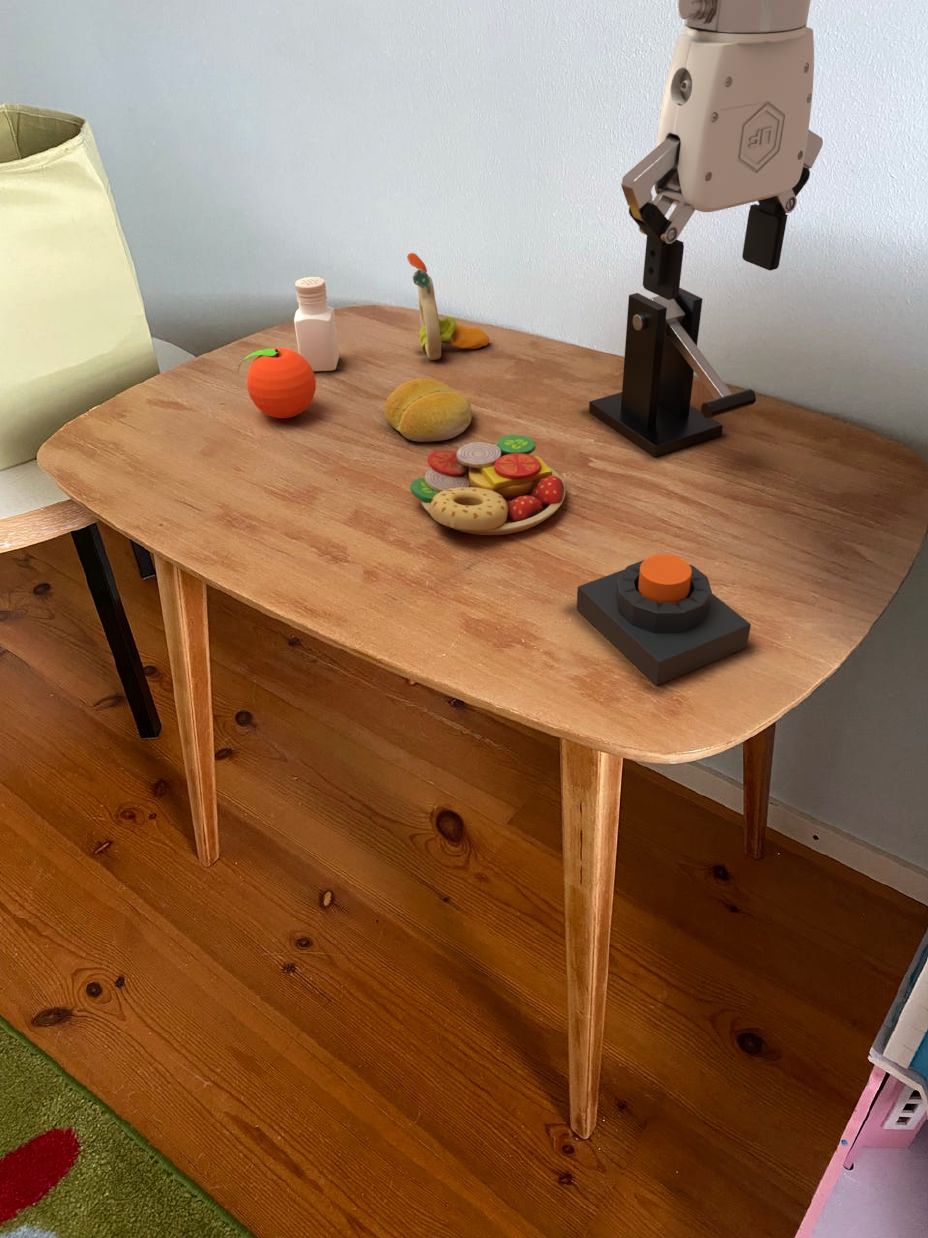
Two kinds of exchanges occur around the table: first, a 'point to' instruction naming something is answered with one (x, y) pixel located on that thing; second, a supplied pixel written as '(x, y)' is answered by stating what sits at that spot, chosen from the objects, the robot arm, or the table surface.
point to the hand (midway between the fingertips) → (711, 278)
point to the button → (664, 579)
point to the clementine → (280, 382)
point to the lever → (702, 365)
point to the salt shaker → (316, 325)
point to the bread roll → (427, 411)
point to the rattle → (436, 329)
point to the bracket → (657, 382)
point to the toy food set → (490, 487)
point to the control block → (663, 624)
